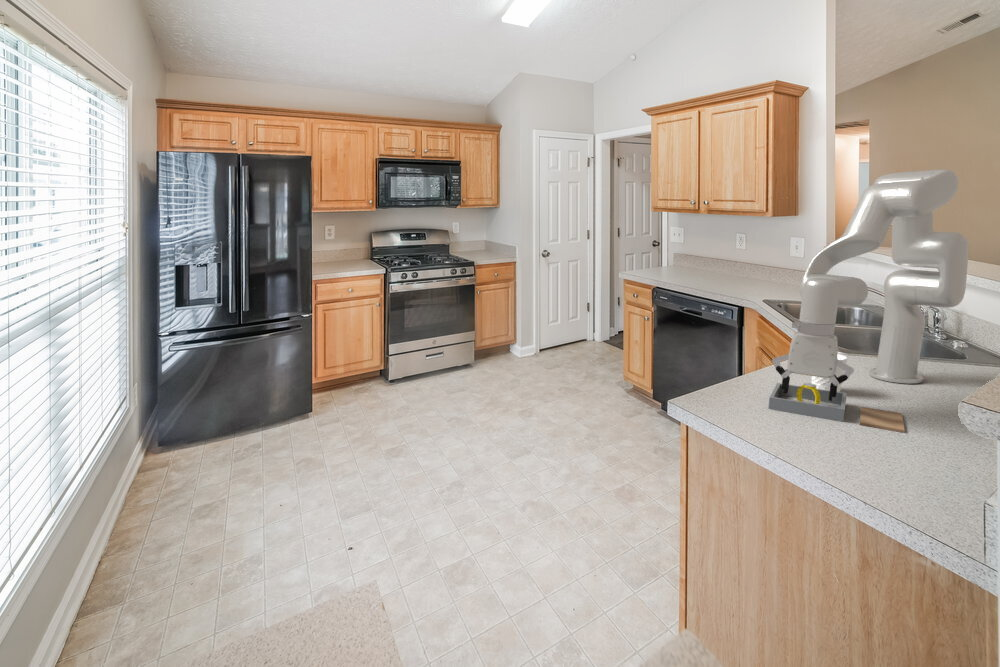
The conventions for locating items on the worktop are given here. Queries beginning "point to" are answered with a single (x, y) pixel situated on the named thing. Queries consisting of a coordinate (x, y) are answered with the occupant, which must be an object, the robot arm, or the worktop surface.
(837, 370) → the white cup
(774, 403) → the bin
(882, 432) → the worktop surface
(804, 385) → the watch
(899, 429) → the board
